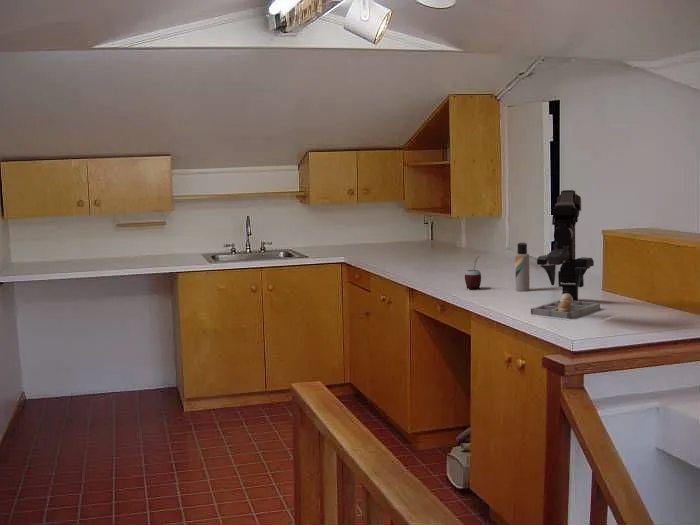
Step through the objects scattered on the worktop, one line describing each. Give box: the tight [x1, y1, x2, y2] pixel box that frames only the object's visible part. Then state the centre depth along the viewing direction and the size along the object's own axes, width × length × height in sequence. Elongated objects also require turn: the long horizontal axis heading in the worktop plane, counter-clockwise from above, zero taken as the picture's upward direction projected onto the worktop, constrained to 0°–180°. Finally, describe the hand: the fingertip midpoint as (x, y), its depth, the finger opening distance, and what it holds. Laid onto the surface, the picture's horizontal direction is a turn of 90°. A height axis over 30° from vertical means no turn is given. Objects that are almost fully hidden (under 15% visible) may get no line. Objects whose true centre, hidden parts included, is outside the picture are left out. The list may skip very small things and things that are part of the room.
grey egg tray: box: [530, 299, 601, 321], centre depth 284 cm, size 22×15×3 cm
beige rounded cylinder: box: [559, 293, 573, 304], centre depth 292 cm, size 4×4×5 cm
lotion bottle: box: [514, 242, 530, 292], centre depth 335 cm, size 6×6×20 cm
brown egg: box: [558, 301, 571, 312], centre depth 277 cm, size 4×4×5 cm
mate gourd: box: [464, 255, 482, 291], centre depth 343 cm, size 8×8×15 cm
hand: (564, 286), depth 276 cm, fingers open, 9 cm apart
